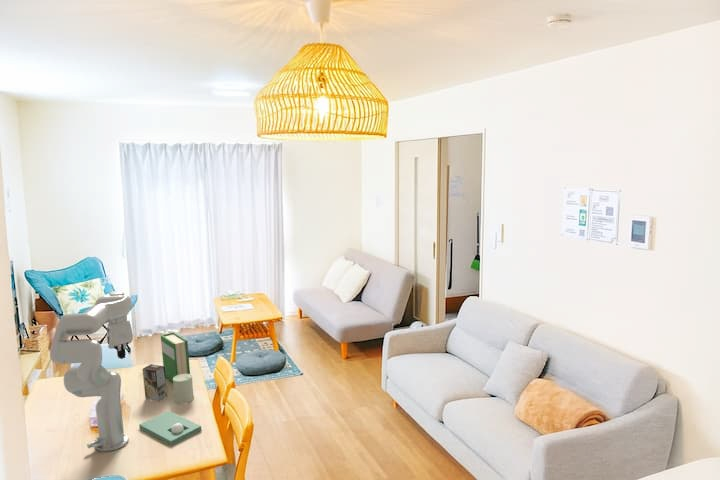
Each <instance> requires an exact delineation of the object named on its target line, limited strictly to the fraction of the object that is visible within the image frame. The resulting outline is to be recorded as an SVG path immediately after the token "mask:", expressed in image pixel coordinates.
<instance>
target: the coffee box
mask: <svg viewBox="0 0 720 480" xmlns="http://www.w3.org/2000/svg"><path fill="white" fill-rule="evenodd" d="M142 376H143V377H142V378H143V379H142V380H143V388H144V398H145V400H149V401H154V402H159V403H160V402H161V401H162V400H164V399H167V398H168V387H167V379H166V375H165V366H163V365H159V364H158V365H157V364H153V363H151V364H148V365H147V366H145V367H144V368H142Z"/></svg>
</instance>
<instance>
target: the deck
mask: <svg viewBox="0 0 720 480" xmlns="http://www.w3.org/2000/svg"><path fill="white" fill-rule="evenodd" d="M176 423H180V424H182V425H183V427H184V430H183V431H182V432H180V433H178V434H176V435H175V434H173V433H172V427H173V425H174V424H176ZM138 426H139V429H140V430H142V431H143V432H146V433H147V434H148V435H149V434H150V435H151V436H153V437H154V438H157V439H159V440H160V441H162V442H164V443H166V444H168V445H170V446H173V445H176V444H177V443H179V442H181V441H183V440H186V439H187V438H189V437H190V436H193V435H195V434H197V433H199V432H200V431H202V425H200V424H198V423H196V422H194V421H191V420H190V419H187V418H185V417H183V416H181V415H179V414H177V413H174V412H173V411H170V410H167V411H166V412H162V413H161V414H159V415H157V416H154V417H152V418H150V419H149V420H148V419H147V420H146V421H143V422H142V423H139V425H138Z"/></svg>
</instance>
